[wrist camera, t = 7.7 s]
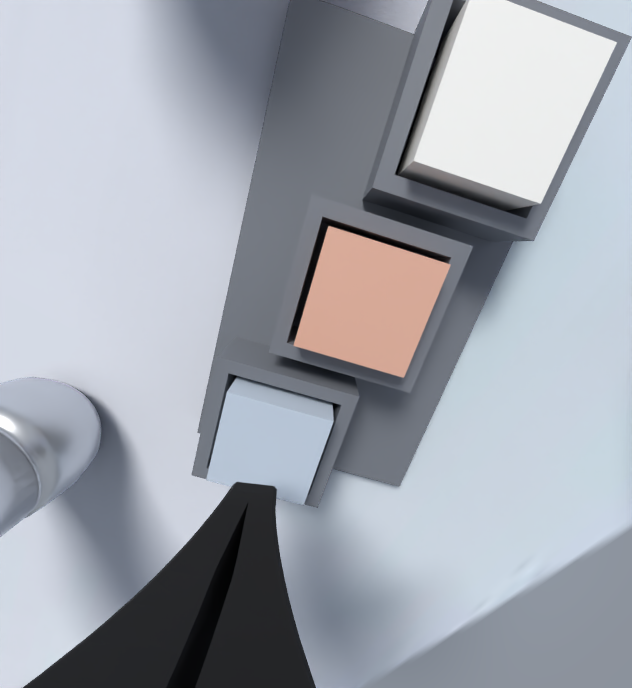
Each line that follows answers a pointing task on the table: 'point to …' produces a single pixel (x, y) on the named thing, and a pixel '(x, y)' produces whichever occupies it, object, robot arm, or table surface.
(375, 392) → the panel
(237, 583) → the robot arm
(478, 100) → the ivory key
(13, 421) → the plastic bottle
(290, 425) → the slate key
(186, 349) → the table surface
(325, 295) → the terracotta key
